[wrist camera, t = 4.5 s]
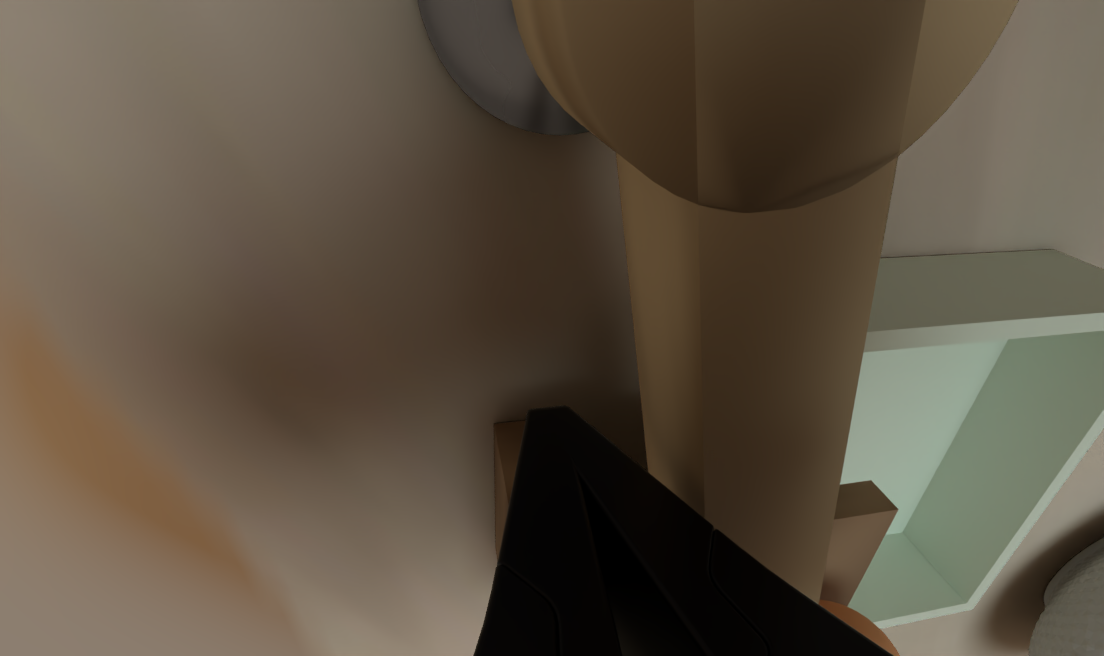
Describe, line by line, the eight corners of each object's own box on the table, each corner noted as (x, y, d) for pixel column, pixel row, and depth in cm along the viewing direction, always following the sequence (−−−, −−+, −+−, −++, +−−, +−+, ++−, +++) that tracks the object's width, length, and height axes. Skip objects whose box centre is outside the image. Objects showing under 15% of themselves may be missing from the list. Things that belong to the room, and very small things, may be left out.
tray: (1053, 249, 19) (1192, 305, 15) (900, 530, 26) (972, 609, 23) (693, 268, 16) (767, 340, 13) (635, 575, 23) (672, 672, 20)
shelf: (770, 372, 19) (898, 509, 14) (723, 529, 23) (809, 679, 18) (493, 398, 17) (526, 568, 12) (495, 564, 21) (521, 742, 16)
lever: (870, -314, 5) (1163, -509, 3) (768, 679, 16) (821, 780, 14) (466, -249, 5) (504, -422, 3) (639, 720, 16) (673, 832, 14)
